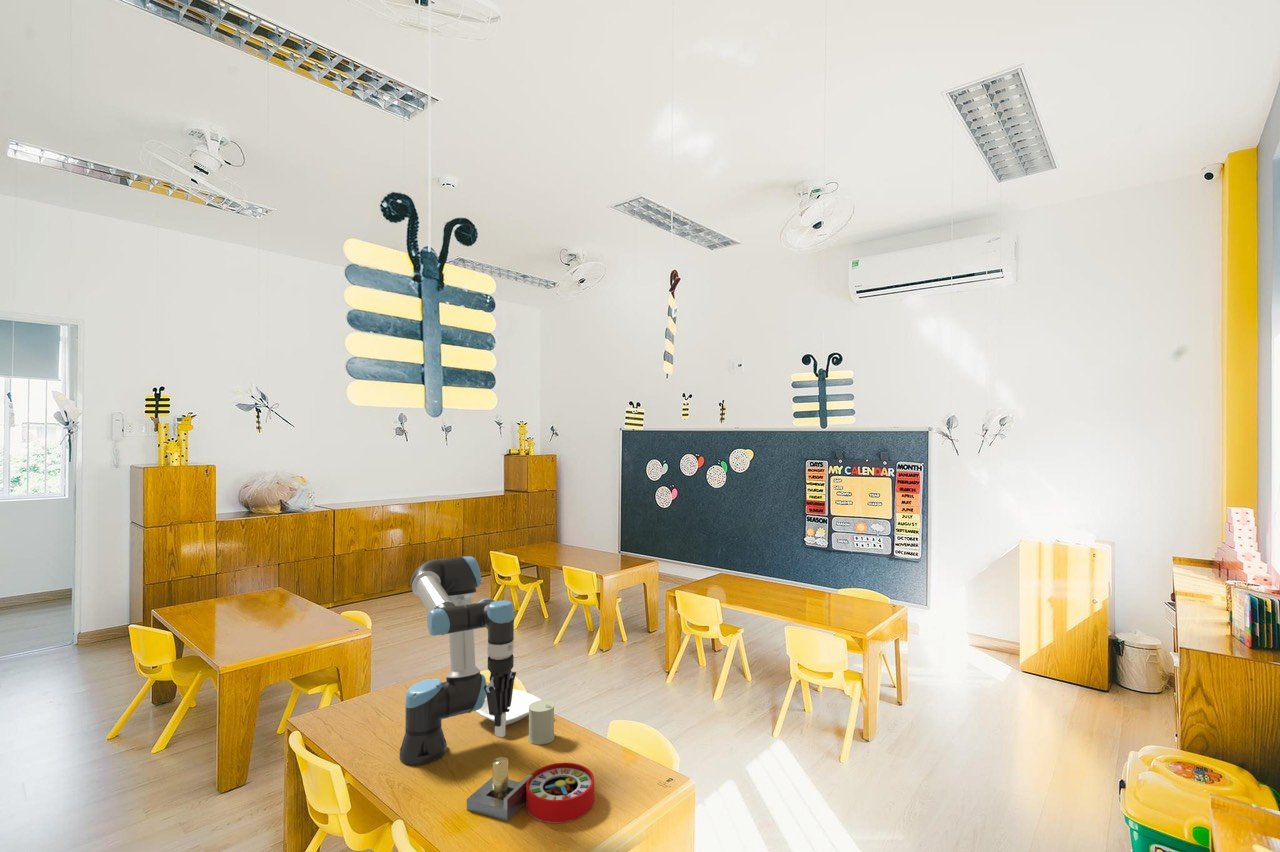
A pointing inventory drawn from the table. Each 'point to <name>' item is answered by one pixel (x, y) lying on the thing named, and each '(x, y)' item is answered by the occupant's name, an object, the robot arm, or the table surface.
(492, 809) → the jig
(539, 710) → the can
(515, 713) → the bowl
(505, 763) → the bushing
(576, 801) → the toy clock
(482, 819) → the table surface
